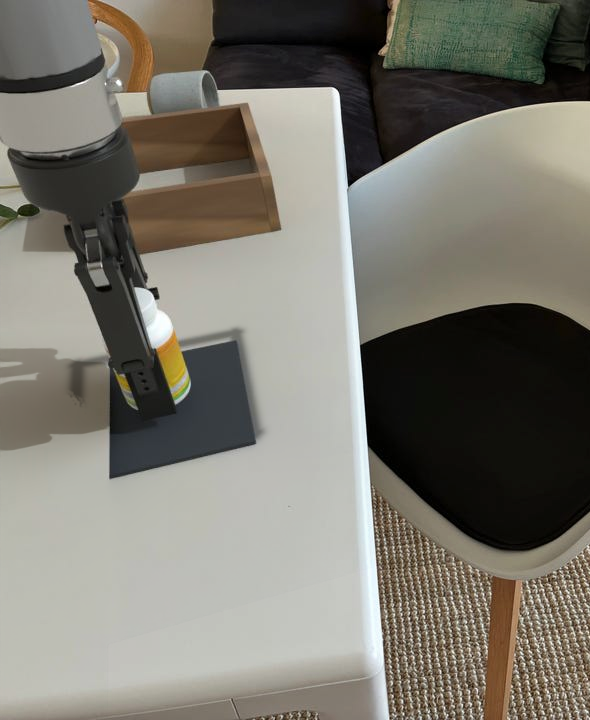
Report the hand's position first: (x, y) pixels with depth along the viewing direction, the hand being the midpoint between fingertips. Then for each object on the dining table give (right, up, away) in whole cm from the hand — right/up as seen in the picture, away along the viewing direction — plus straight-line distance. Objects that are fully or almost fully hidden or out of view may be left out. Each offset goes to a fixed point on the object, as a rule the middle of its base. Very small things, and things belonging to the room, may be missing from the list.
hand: (157, 389), depth 67 cm
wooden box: (-9, +22, +29) cm, 37 cm away
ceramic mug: (-14, +35, +44) cm, 58 cm away
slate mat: (0, -2, +1) cm, 2 cm away
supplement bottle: (0, 0, 0) cm, 1 cm away
